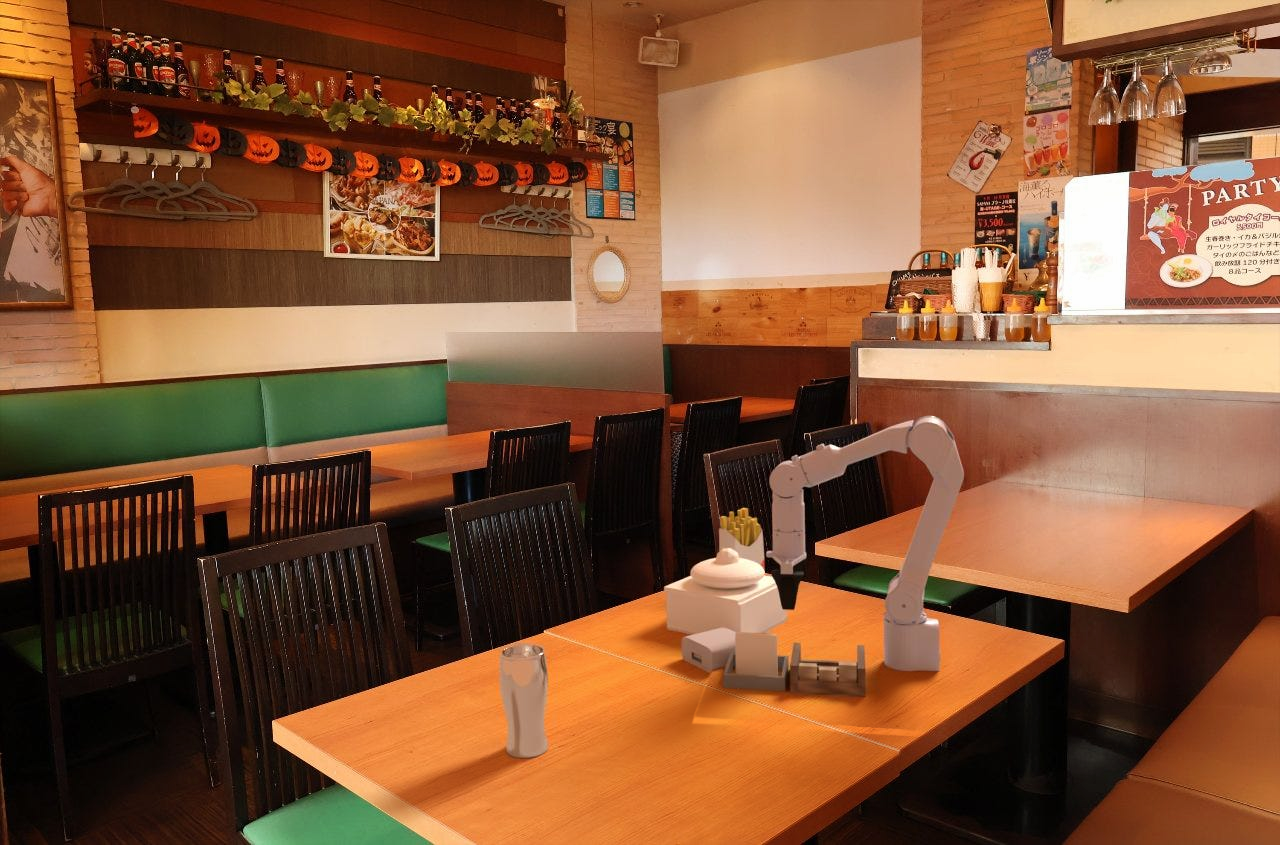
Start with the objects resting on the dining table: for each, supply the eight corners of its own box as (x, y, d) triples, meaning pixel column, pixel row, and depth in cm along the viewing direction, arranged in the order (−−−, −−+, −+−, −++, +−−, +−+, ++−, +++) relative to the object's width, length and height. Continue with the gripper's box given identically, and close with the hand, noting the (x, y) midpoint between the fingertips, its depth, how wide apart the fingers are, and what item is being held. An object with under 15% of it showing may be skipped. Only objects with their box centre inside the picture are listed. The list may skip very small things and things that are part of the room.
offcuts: (856, 688, 159) (856, 662, 159) (856, 692, 158) (856, 665, 157) (799, 685, 161) (799, 659, 161) (799, 689, 160) (799, 663, 159)
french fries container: (766, 586, 222) (764, 508, 220) (736, 597, 214) (734, 517, 212) (750, 582, 225) (748, 506, 223) (720, 593, 218) (718, 514, 215)
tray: (788, 672, 170) (788, 655, 169) (785, 695, 160) (784, 677, 159) (730, 669, 172) (730, 653, 171) (723, 692, 162) (722, 674, 161)
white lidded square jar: (741, 646, 184) (739, 564, 182) (664, 629, 195) (662, 552, 193) (787, 621, 197) (786, 545, 196) (713, 607, 208) (711, 534, 207)
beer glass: (552, 737, 147) (547, 641, 145) (549, 758, 140) (544, 658, 138) (505, 739, 146) (501, 643, 145) (501, 761, 140) (495, 660, 138)
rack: (864, 674, 168) (864, 644, 167) (865, 701, 156) (865, 670, 155) (794, 670, 170) (793, 641, 170) (790, 697, 159) (789, 666, 158)
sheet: (777, 678, 165) (777, 633, 164) (777, 681, 164) (776, 635, 163) (736, 676, 167) (735, 631, 166) (736, 679, 166) (735, 634, 165)
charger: (777, 656, 178) (712, 675, 170) (746, 642, 186) (681, 660, 178) (777, 631, 177) (711, 649, 169) (745, 618, 185) (681, 635, 177)
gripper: (769, 519, 181) (770, 590, 183) (762, 537, 167) (764, 614, 169) (807, 520, 180) (808, 591, 181) (804, 538, 166) (805, 615, 167)
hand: (789, 602), depth 175 cm, fingers open, 7 cm apart
